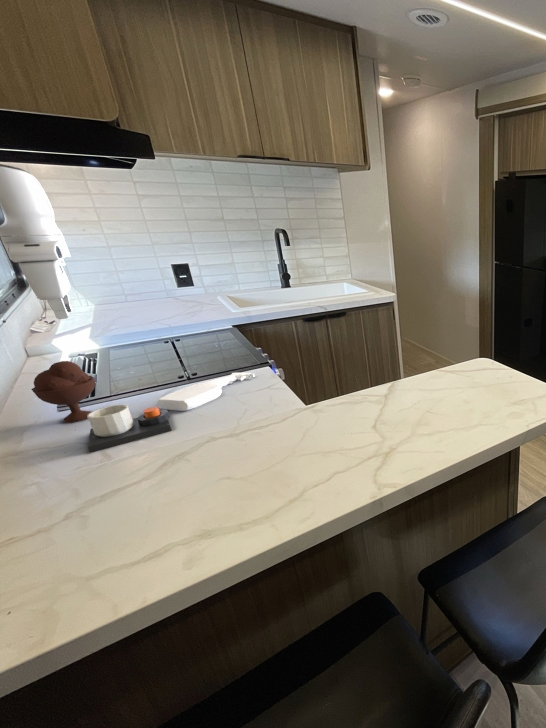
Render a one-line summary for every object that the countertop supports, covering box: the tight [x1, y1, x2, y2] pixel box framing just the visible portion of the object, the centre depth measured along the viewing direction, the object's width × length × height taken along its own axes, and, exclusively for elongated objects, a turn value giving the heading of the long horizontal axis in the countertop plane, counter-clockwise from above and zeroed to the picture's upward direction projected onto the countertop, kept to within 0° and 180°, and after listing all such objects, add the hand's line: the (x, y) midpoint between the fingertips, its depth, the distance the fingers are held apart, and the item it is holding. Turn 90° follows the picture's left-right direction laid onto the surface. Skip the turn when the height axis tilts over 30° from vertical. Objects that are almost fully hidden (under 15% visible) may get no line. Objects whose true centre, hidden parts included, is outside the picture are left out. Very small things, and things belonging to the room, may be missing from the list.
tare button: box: [142, 406, 160, 418], centre depth 96 cm, size 3×3×2 cm
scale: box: [87, 409, 172, 453], centre depth 94 cm, size 14×11×3 cm
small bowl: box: [87, 404, 135, 437], centre depth 92 cm, size 7×7×5 cm
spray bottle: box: [157, 372, 256, 412], centre depth 116 cm, size 3×11×24 cm
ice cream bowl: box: [31, 360, 96, 424], centre depth 100 cm, size 11×11×15 cm
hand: (65, 315), depth 89 cm, fingers open, 8 cm apart
